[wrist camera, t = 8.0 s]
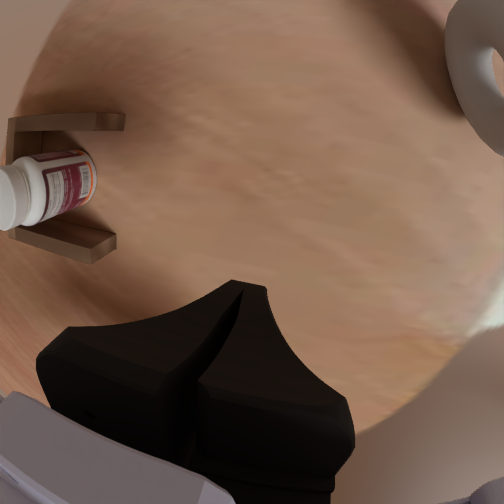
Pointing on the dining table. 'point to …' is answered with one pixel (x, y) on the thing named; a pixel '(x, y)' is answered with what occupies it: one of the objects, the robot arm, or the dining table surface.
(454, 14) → the donut
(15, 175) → the pill bottle
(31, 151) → the brown u-shaped block
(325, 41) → the dining table surface
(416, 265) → the dining table surface
